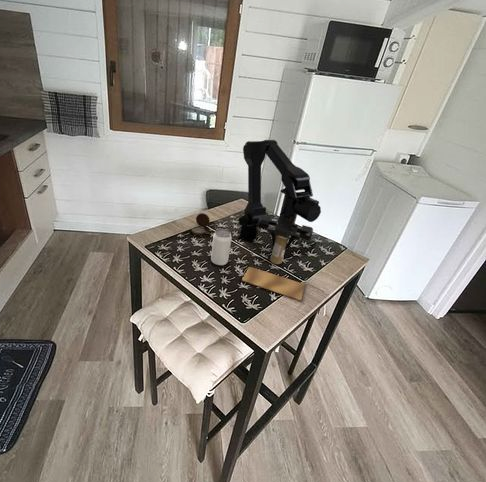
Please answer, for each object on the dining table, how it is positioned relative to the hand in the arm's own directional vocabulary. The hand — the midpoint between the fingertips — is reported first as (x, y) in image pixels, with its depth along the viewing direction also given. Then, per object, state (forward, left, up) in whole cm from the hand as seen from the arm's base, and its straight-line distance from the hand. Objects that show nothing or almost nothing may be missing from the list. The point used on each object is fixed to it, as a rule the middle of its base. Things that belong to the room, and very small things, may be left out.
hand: (279, 247), depth 104 cm
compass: (-34, +5, -7) cm, 35 cm away
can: (-19, -11, -7) cm, 23 cm away
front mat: (+2, -13, -6) cm, 15 cm away
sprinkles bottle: (0, 0, -7) cm, 7 cm away
